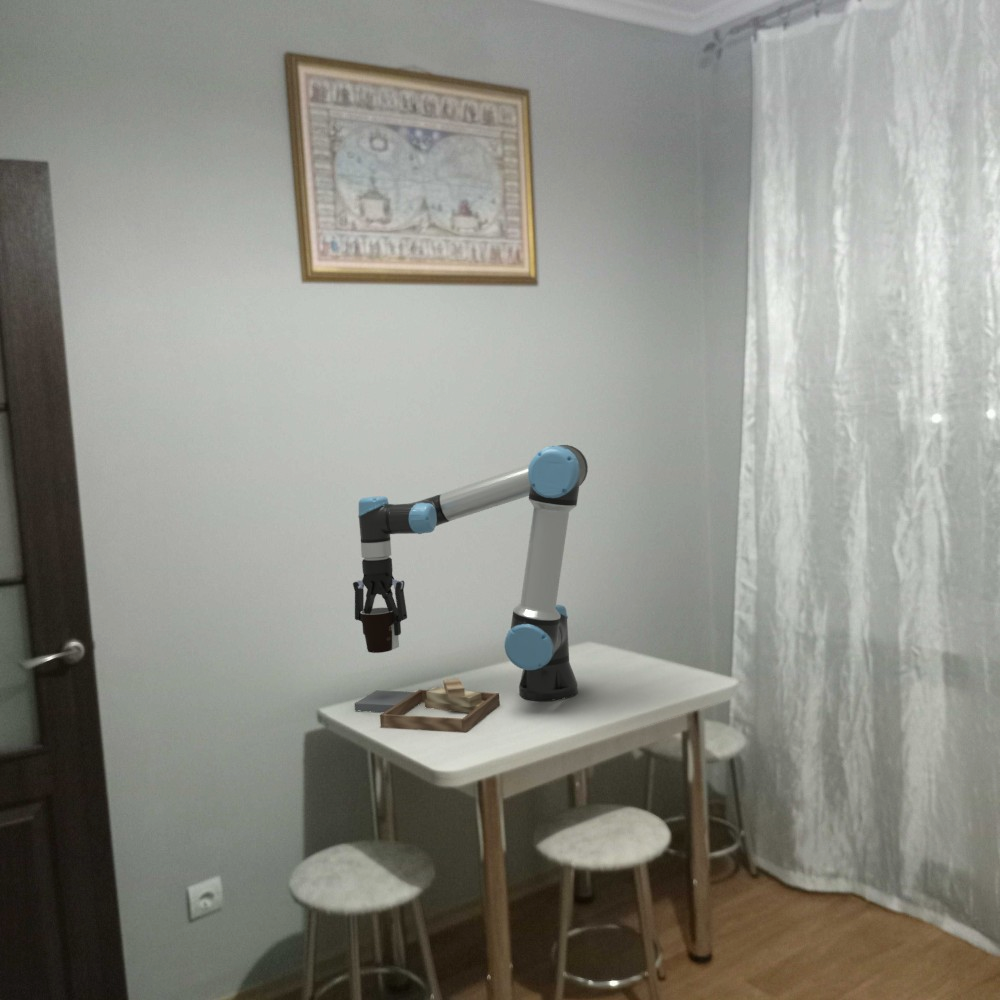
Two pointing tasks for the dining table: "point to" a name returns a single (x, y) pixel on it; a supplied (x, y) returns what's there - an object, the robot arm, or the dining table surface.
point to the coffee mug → (378, 630)
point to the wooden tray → (399, 720)
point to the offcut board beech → (454, 688)
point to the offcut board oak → (449, 706)
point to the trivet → (381, 700)
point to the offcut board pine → (442, 697)
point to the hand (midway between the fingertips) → (382, 647)
